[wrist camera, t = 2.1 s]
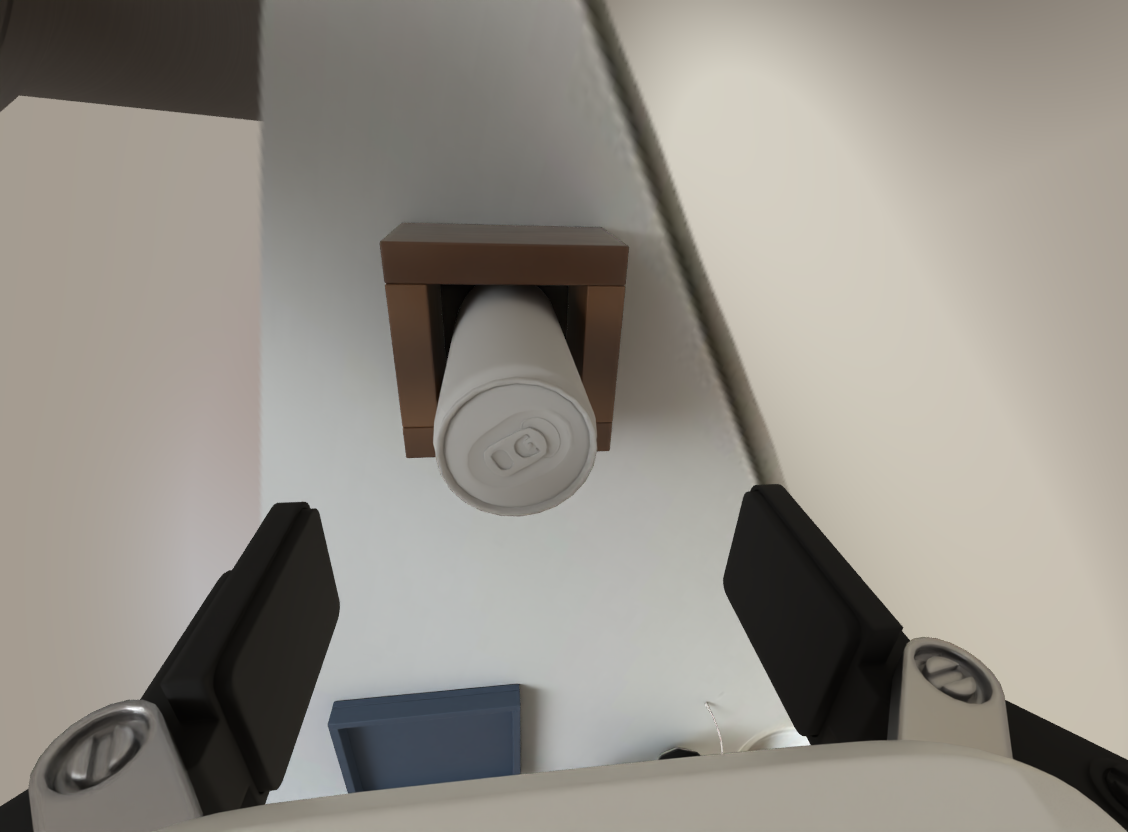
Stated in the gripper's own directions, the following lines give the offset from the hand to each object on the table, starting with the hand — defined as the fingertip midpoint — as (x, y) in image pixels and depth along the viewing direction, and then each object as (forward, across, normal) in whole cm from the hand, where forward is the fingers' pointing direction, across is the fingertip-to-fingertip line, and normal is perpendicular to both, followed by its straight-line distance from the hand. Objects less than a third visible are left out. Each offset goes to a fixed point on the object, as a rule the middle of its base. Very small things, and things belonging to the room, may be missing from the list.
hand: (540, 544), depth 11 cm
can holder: (+16, 0, 0) cm, 16 cm away
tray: (+16, +6, +34) cm, 38 cm away
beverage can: (+16, 0, 0) cm, 16 cm away
